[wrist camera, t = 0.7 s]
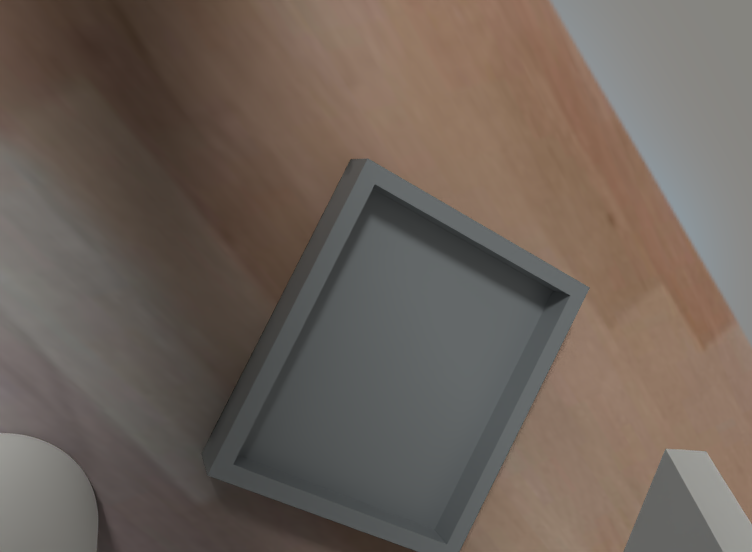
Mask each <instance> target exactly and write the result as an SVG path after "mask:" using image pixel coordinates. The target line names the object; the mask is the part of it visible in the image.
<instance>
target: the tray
mask: <svg viewBox="0 0 752 552" xmlns="http://www.w3.org/2000/svg"><path fill="white" fill-rule="evenodd" d="M588 290H589V287H588V286H586V285H584V284H582V283H581V282H579V281H577V280H576V279H574V278H572V277H570V276H569V275H567V274H565V273H564V272H562V271H560V270H558V269H557V268H555V267H553V266H552V265H550V264H548V263H546V262H545V261H543V260H541V259H539V258H538V257H536V256H534V255H533V254H531V253H529V252H527V251H526V250H524V249H522V248H521V247H519V246H517V245H515V244H514V243H512V242H510V241H509V240H507V239H505V238H503V237H502V236H500V235H498V234H497V233H495V232H493V231H491V230H490V229H488V228H486V227H485V226H483V225H481V224H479V223H478V222H476V221H474V220H472V219H471V218H469V217H467V216H466V215H464V214H462V213H460V212H459V211H457V210H455V209H454V208H452V207H450V206H448V205H447V204H445V203H443V202H442V201H440V200H438V199H436V198H435V197H433V196H431V195H430V194H428V193H426V192H424V191H423V190H421V189H419V188H418V187H416V186H414V185H412V184H411V183H409V182H407V181H405V180H404V179H402V178H400V177H399V176H397V175H395V174H393V173H392V172H390V171H388V170H387V169H385V168H383V167H381V166H380V165H378V164H376V163H375V162H373V161H371V160H369V159H351V160H350V162H349V164H348V166H347V168H346V170H345V172H344V174H343V176H342V177H341V179H340V181H339V183H338V185H337V187H336V189H335V191H334V193H333V195H332V197H331V199H330V201H329V203H328V205H327V207H326V209H325V211H324V213H323V215H322V217H321V219H320V221H319V223H318V225H317V227H316V229H315V231H314V233H313V235H312V237H311V239H310V241H309V243H308V245H307V247H306V248H305V250H304V252H303V254H302V256H301V258H300V260H299V262H298V264H297V266H296V268H295V270H294V272H293V274H292V276H291V278H290V280H289V282H288V284H287V286H286V288H285V290H284V292H283V294H282V296H281V298H280V300H279V302H278V304H277V306H276V308H275V310H274V312H273V314H272V316H271V317H270V319H269V321H268V323H267V325H266V327H265V329H264V331H263V333H262V335H261V337H260V339H259V341H258V343H257V345H256V347H255V349H254V351H253V353H252V355H251V357H250V359H249V361H248V363H247V365H246V367H245V369H244V371H243V373H242V375H241V377H240V379H239V381H238V383H237V385H236V387H235V388H234V390H233V392H232V394H231V396H230V398H229V400H228V402H227V404H226V406H225V408H224V410H223V412H222V414H221V416H220V418H219V420H218V422H217V424H216V426H215V428H214V430H213V432H212V434H211V436H210V438H209V440H208V442H207V444H206V446H205V448H204V450H203V452H202V457H203V461H204V465H205V469H206V472H207V475H208V476H210V477H213V478H216V479H219V480H221V481H224V482H227V483H230V484H232V485H235V486H238V487H241V488H243V489H246V490H249V491H252V492H254V493H257V494H260V495H263V496H266V497H268V498H271V499H274V500H277V501H279V502H282V503H285V504H288V505H290V506H293V507H296V508H299V509H301V510H304V511H307V512H310V513H312V514H315V515H318V516H321V517H323V518H326V519H329V520H332V521H334V522H337V523H340V524H343V525H346V526H348V527H351V528H354V529H357V530H359V531H362V532H365V533H368V534H370V535H373V536H376V537H379V538H381V539H384V540H387V541H390V542H392V543H395V544H398V545H401V546H403V547H406V548H409V549H412V550H414V551H417V552H459V551H460V549H461V547H462V545H463V543H464V541H465V539H466V537H467V535H468V533H469V531H470V529H471V527H472V525H473V523H474V521H475V519H476V517H477V515H478V513H479V510H480V508H481V506H482V504H483V502H484V500H485V498H486V496H487V494H488V492H489V490H490V488H491V486H492V484H493V482H494V480H495V478H496V476H497V474H498V472H499V470H500V468H501V466H502V464H503V462H504V460H505V458H506V456H507V454H508V452H509V450H510V448H511V446H512V444H513V442H514V440H515V438H516V436H517V434H518V432H519V430H520V428H521V426H522V424H523V422H524V420H525V418H526V416H527V414H528V411H529V409H530V407H531V405H532V403H533V401H534V399H535V397H536V395H537V393H538V391H539V389H540V387H541V385H542V383H543V381H544V379H545V377H546V375H547V373H548V371H549V369H550V367H551V365H552V363H553V361H554V359H555V357H556V355H557V353H558V351H559V349H560V347H561V345H562V343H563V341H564V339H565V337H566V335H567V333H568V331H569V329H570V327H571V325H572V323H573V321H574V319H575V317H576V314H577V312H578V310H579V308H580V306H581V304H582V302H583V300H584V298H585V296H586V294H587V292H588Z"/></svg>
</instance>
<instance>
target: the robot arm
mask: <svg viewBox="0 0 752 552" xmlns="http://www.w3.org/2000/svg"><path fill="white" fill-rule="evenodd" d="M624 552H752V524H751V522H750V521H749V519H748V518H747V516H746V514H745V513H744V511H743V510H742V508H741V506H740V505H739V503H738V502H737V500H736V498H735V497H734V495H733V494H732V492H731V490H730V489H729V487H728V486H727V484H726V482H725V481H724V479H723V478H722V476H721V474H720V473H719V471H718V470H717V468H716V466H715V465H714V463H713V462H712V460H711V458H710V457H709V455H708V454H707V452H706V451H693V450H677V449H665V451H664V454H663V456H662V459H661V461H660V464H659V466H658V469H657V471H656V474H655V476H654V478H653V481H652V483H651V486H650V488H649V491H648V493H647V496H646V498H645V500H644V503H643V505H642V508H641V510H640V513H639V515H638V518H637V520H636V523H635V525H634V527H633V530H632V532H631V535H630V537H629V540H628V542H627V545H626V547H625V549H624Z"/></svg>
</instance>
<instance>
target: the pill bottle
mask: <svg viewBox="0 0 752 552" xmlns="http://www.w3.org/2000/svg"><path fill="white" fill-rule="evenodd" d="M97 539H98V509H97V503H96V498H95V495H94V491H93V488H92V486H91V484H90V482H89V480H88V478H87V476H86V474H85V473H84V471H83V470H82V469H81V467H80V466H79V465H78V464H77V463H76V462H75V461H74V460H73V459H72V458H71V457H70V456H69V455H68V454H66V453H65V452H64V451H62V450H61V449H59V448H58V447H56V446H54V445H52V444H50V443H48V442H46V441H43V440H40V439H38V438H34V437H31V436H26V435H21V434H12V433H0V552H97Z"/></svg>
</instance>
